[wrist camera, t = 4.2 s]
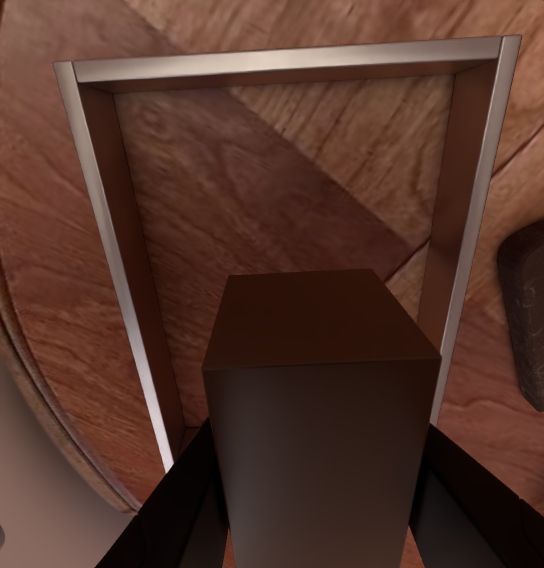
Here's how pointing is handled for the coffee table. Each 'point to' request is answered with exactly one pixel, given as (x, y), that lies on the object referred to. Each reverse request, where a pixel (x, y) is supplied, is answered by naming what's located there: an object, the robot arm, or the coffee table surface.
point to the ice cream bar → (526, 306)
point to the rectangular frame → (277, 70)
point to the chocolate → (318, 417)
